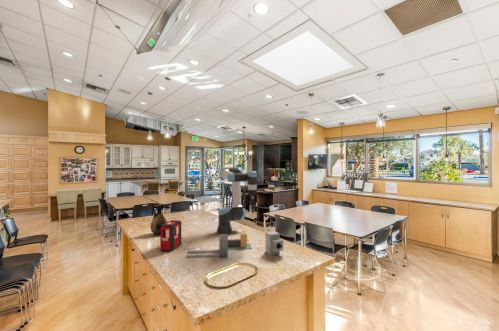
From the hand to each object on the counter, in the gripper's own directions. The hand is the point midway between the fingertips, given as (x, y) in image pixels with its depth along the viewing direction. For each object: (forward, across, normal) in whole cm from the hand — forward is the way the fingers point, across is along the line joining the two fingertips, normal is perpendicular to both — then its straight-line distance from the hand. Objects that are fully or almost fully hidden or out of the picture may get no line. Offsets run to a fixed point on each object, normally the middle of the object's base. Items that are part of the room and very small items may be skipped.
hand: (252, 214), depth 193 cm
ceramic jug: (+26, -30, -88) cm, 96 cm away
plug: (+24, +7, -13) cm, 28 cm away
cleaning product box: (+25, +7, -65) cm, 70 cm away
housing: (+25, +22, -35) cm, 48 cm away
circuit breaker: (+25, +24, +16) cm, 37 cm away
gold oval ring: (+25, +55, -15) cm, 62 cm away
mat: (+25, +7, -11) cm, 28 cm away
